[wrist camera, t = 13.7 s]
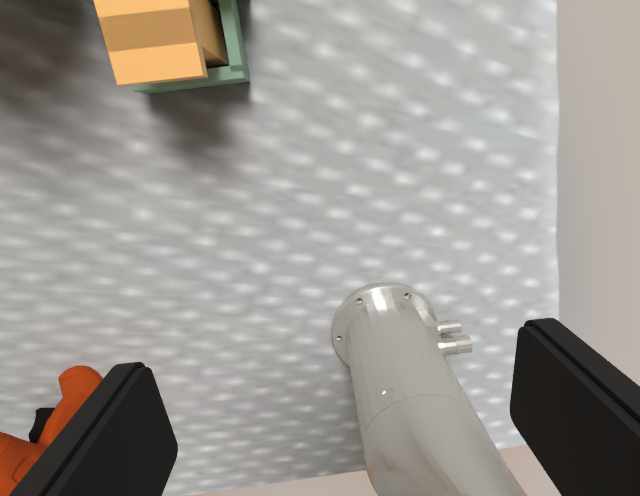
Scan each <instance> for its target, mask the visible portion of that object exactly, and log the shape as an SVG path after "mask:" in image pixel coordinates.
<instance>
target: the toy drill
mask: <svg viewBox="0 0 640 496" xmlns="http://www.w3.org/2000/svg"><path fill="white" fill-rule="evenodd" d="M102 380H103V379H102V377H101V376H100V375H99V374H98V373H97V372H96V371H95V370H93V369H92V368H90V367H87V366H75V367H72V368H70V369H68V370H66V371H65V372H63V374H61V375H60V376H59V384H60V388H61V391H62V395H63V398H62V399H61V401H60V402H59V403H58V405H57V406H56V407H55V408H39V409H37V410H36V418H35V422H34V425H33V427H32V429H31V431H30V433H29V440H30V442H28V441H25V440H22V439H19V438H16V437H14V436H11V435H9V434H6V433H2V432H0V496H9V494H10V493H11V492H12V491H13V489H14V488H15V487H16V486H17V484H18V483H19V482H20V481H21V480H22V478H23V477H24V476H25V475H26V473H27V472H28V471H29V470H30V468H31V467H32V466H33V465H34V464H35V462H36V461H37V460H38V459H39V457H40V456H41V455H42V454H43V452H44V451H45V450H46V449H47V448H48V446H49V445H50V444H51V443H52V441H53V440H54V439H55V438H56V437H57V435H58V434H59V433H60V432H61V430H62V429H63V428H64V427H65V425H66V424H67V423H68V422H69V421H70V419H71V418H72V417H73V416H74V414H75V413H76V412H77V411H78V409H79V408H80V407H81V406H82V405H83V403H84V402H85V401H86V400H87V398H88V397H89V396H90V395H91V393H92V392H93V391H94V390H95V389H96V387H97V386H98V385H99V384H100V382H101V381H102Z"/></svg>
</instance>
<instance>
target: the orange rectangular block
mask: <svg viewBox="0 0 640 496" xmlns="http://www.w3.org/2000/svg"><path fill="white" fill-rule="evenodd" d="M94 4H95V8H96V11H97V15H98V18H99V22H100V25H101V29H102V32H103V36H104V40H105V43H106V47H107V50H108V54H109V57H110V61H111V64H112V68H113V71H114V75H115V79H116V82H117V85H120V86H125V87H128V86H137V85H146V84H155V83H164V82H173V81H182V80H191V79H200V78H208V75H207V70H206V66H215V65H224V64H228V63H227V58H226V52H225V46H224V41H223V35H222V29H221V24H220V18H219V13H218V12H217V10H216V9H215V8H214V7H213V6H212V5H211V3H210V2H209V1H208V0H94Z"/></svg>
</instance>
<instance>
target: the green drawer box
mask: <svg viewBox="0 0 640 496" xmlns="http://www.w3.org/2000/svg"><path fill="white" fill-rule="evenodd" d="M86 1H88V2H90V3H92V4H94V0H86ZM208 1H209V2H210V3H211V4H212V3H219V8H220V13H221V19H222V24H223V30H224V35H225V41H226V46H227V52H228V58H229V63H230V66H225V67H217V68H209V69H206V70H207V75H208V78H200V79H191V80H182V81H173V82H164V83H155V84H146V85H137V86H132V89H133V91H136V92H141V93H147V94H151V93H160V92H168V91H176V90H185V89H193V88H201V87H210V86H218V85H226V84H234V83H243V82H250V79H249V72H248V66H247V60H246V54H245V48H244V42H243V36H242V30H241V24H240V18H239V12H238V6H237V0H208ZM94 5H95V4H94Z"/></svg>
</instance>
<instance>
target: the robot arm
mask: <svg viewBox="0 0 640 496" xmlns="http://www.w3.org/2000/svg"><path fill="white" fill-rule="evenodd" d="M406 293H407V294H406ZM358 298H360V299H358ZM458 332H461V324H460V321H459V320H452V321H446V322H438V321H437V318H436V315H435V313H434V310H433V308H432V307H431V305H430V304H429V302H428V301H427V300H426V299H425V298H424V297H423V296H422V295H421V294H420V293H418V292H417V291H416V290H414V289H412V288H409V287H407V286H404V285H400V284H393V283H383V284H375V285H372V286H368V287H365V288H363V289H361V290H359V291H357V292H355V293H354V294H353V295H351V296H350V297H348V298H347V299H346V301H345V302H344V303H343V304H342V305H341V306H340V308H339V309H338V311H337V312H336V315H335V318H334V320H333V325H332V338H333V344H334V347H335V350H336V352H337V354H338V355H339V357H340V358H341V360H342V361H343V362H344V363H345V364H347V365H348V366H349V367H350V371H351V377H352V383H353V390H354V396H355V402H356V409H357V415H358V422H359V428H360V434H361V441H362V447H363V453H364V459H365V465H366V469H367V472H368V476H369V478H370V481H371V483H372V485H373V487H374V489H375V491H376V493H377V494H378V496H527V495H526V494H525V492H524V491H523V489H522V488H521V486H520V485H519V484H518V482H517V480H516V479H515V477H514V476H513V474H512V473H511V471H510V470H509V468H508V466H507V465H506V463H505V461H504V460H503V458H502V456H501V455H500V453H499V451H498V450H497V448H496V446H495V445H494V443H493V441H492V440H491V438H490V436H489V434H488V433H487V431H486V429H485V427H484V426H483V424H482V422H481V420H480V419H479V417H478V415H477V413H476V411H475V410H474V408H473V406H472V404H471V403H470V401H469V399H468V397H467V396H466V394H465V392H464V390H463V389H462V387H461V385H460V383H459V381H458V380H457V378H456V376H455V374H454V373H453V371H452V369H451V367H450V366H449V364H448V362H447V360H446V359H445V357H444V356H445V354H449V353H455V354H458V353H467V352H471V351H472V342H471V339H470V337H469V336H468V335H463V336H453V337H451V338H441V334H443V333H458ZM510 415H511V419H512V421H513V423H514V425H515V427H516V428H517V430H518V431H519V433H520V434H521V436H522V437H523V439H524V440H525V441H526V443H527V444H528V446H529V447H530V449H531V450H532V452H533V453H534V455H535V456H536V458H537V459H538V461H539V462H540V464H541V465H542V467H543V468H544V470H545V471H546V473H547V474H548V476H549V477H550V479H551V480H552V482H553V483H554V485H555V486H556V487H557V489H558V490H559V492H560V494H561V495H562V496H640V386H638V385H637V384H636V383H635V382H633V381H632V380H631V379H630V378H628V377H627V376H626V375H625V374H623V373H622V372H621V371H620V370H618V369H617V368H616V367H615V366H613V365H612V364H611V363H610V362H609V361H607V360H606V359H605V358H604V357H602V356H601V355H600V354H599V353H597V352H596V351H594V349H592V348H591V347H590V346H588V345H587V344H586V343H585V342H584V341H582V340H581V339H580V338H579V337H577V336H576V335H575V334H574V333H572V332H571V331H570V330H569V329H568V328H566V327H565V326H564V325H562V324H561V323H560V322H559V321H558V320H556V319H554V318H545V319H535V320H528V321H526V323H525V324H524V327H521V328H520V329H519V331H518V338H517V347H516V356H515V365H514V374H513V383H512V392H511V401H510ZM177 452H178V445H177V441H176V438H175V435H174V433H173V430H172V427H171V424H170V421H169V418H168V416H167V413H166V410H165V407H164V404H163V401H162V398H161V396H160V393H159V390H158V387H157V384H156V381H155V378H154V376H153V373H152V370H151V369H150V368H149V367H145V365H144V364H143V363H142V362H134V363H124V364H117V365H115V366H114V367H113V368H112V369H111V370H110V371H109V373H108V374H107V375H106V376H105V377H104V379H103V380H102V381H101V382H100V384H99V385H98V386H97V387H96V389H95V390H94V391H93V392H92V393H91V395H90V396H89V397H88V398H87V400H86V401H85V402H84V403H83V405H82V406H81V407H80V408H79V409H78V411H77V412H76V413H75V414H74V416H73V417H72V418H71V419H70V421H69V422H68V423H67V424H66V425H65V427H64V428H63V429H62V430H61V432H60V433H59V434H58V435H57V437H56V438H55V439H54V440H53V441H52V443H51V444H50V445H49V446H48V448H47V449H46V450H45V451H44V452H43V454H42V455H41V456H40V457H39V459H38V460H37V461H36V462H35V464H34V465H33V466H32V467H31V468H30V470H29V471H28V472H27V473H26V475H25V476H24V477H23V478H22V480H21V481H20V482H19V483H18V484H17V486H16V487H15V488H14V489H13V491H12V492H11V493H10V494H9V496H161V495H162V493H163V490H164V488H165V486H166V483H167V481H168V478H169V476H170V473H171V471H172V468H173V466H174V463H175V461H176V458H177Z"/></svg>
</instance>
